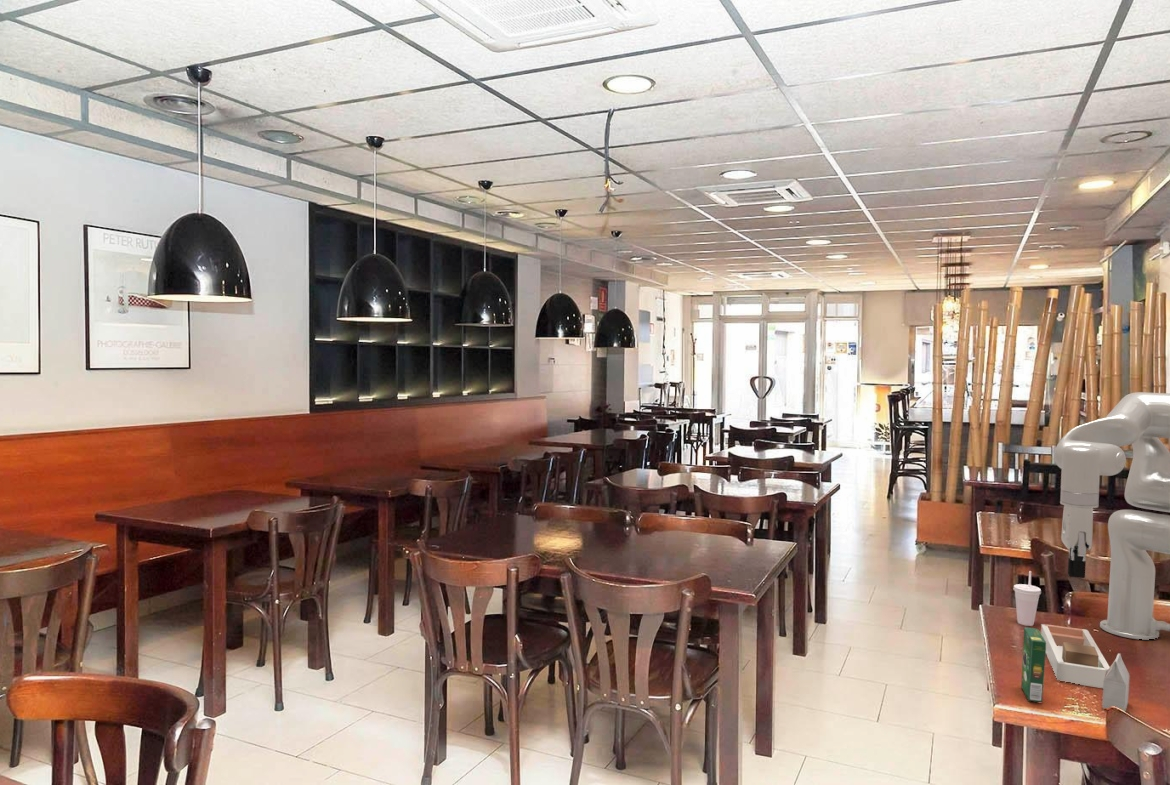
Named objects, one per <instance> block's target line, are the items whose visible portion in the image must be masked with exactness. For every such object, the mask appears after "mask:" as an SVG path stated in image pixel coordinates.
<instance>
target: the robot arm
mask: <svg viewBox="0 0 1170 785" xmlns="http://www.w3.org/2000/svg"><path fill="white" fill-rule="evenodd" d="M1160 438H1163V439H1170V393H1167V392H1166V393H1165V392H1147V391H1145V392H1144V391H1140V392H1139V391H1138V392H1131V393H1129V394H1126V395H1125V396H1124V397H1122V398H1121V399H1120V400H1119V402H1117V404H1116V405H1115V406H1114V407H1113V408H1112V410H1110V412H1109V413H1108V414H1107V415H1106V416H1105V417H1100V418H1098V419H1095V420H1092V421H1090V422H1087V423H1083V424H1080V425H1077V426H1075V427H1073V428H1072V429H1070V430H1069V431H1068V432H1067V433H1066V434H1064V435H1063V437H1062V438H1061V439H1060V441H1058V443H1057V445H1056V447H1055V449H1054V454H1053V460H1054V462H1055V464H1056V466H1057V467H1058V468H1059V469H1060V470H1061V472H1060V474H1061V476H1060V478H1061V479H1060V499H1059V500H1060V501H1059V503H1060V505H1063V513H1062V522H1061V523H1062V524H1061V536H1060V540H1061V542H1062V543H1063V545H1064V547H1065V548H1066V549H1067V550H1068V560H1067V561H1068V562H1067V563H1068V564H1067V575H1068V576H1069V577H1070V578H1079V579H1084V578H1086V562H1087V561H1086V557H1087V556H1086V555H1087V551H1091V549H1092V546H1093V534H1094V533H1093V530H1094V528H1093V527H1094V526H1093V525H1094V524H1093V523H1094V520H1093V519H1094V509H1097V508H1099V504H1100V503H1099V502H1100V501H1099V498H1100V476H1105V477H1106V476H1108V477H1111V476H1115V475H1118V474H1120V473H1121V472H1122V471H1123V469H1124V468H1125V466H1126V463H1127V462H1126V461H1127V458H1126V454H1125V452H1124V450H1123V449H1122V448H1121V447H1126V446H1129V445H1131V447H1132V450H1133V452H1132V454H1133V455H1132V461H1131V464H1130V468H1129V473H1128V477H1127V480H1126V483H1125V489H1124V499H1125V501H1126V503H1127V504H1129V505H1130V506H1133V507H1136V508H1139V509H1140V508H1141V509H1145V510H1153V511H1158V512H1162V513H1163V512H1164V513H1170V450H1169V449H1168V448H1167V446H1166V445H1165V444H1164V443H1163V442H1162V441H1161V440H1160ZM1107 530H1108V537H1109V543H1110V565H1109V567H1110V568H1109V587H1108V601H1107V603H1108V604H1107V619H1103V620H1101V621H1100V622H1099V627H1100V629H1102V630H1103V631H1105V632H1107V633H1109V634H1112V635H1114V636H1118V637H1123V638H1128V639H1133V640H1139V639H1142V640H1141V641H1150V640H1149V639H1154V640H1156V639H1155V638H1157V639H1158V637H1160V631H1166V632H1170V623H1168V622H1167V621H1163V620H1156V619H1155V617H1154V600H1155V586H1156V585H1155V584H1156V583H1155V582H1156V581H1155V580H1156V566H1155V562H1154V561H1153V559H1152V557H1151V556H1150V555H1149V553H1148V552H1147V551H1149V552H1155V553H1162V554H1166V555H1170V515H1168V514H1161V513H1155V512H1150V511H1143V510H1142V511H1141V510H1136V509H1120V510H1116V511H1114V512H1113V513H1112V514H1110V516H1109V518H1108V522H1107Z"/></svg>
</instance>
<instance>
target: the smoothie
mask: <svg viewBox="0 0 1170 785" xmlns="http://www.w3.org/2000/svg"><path fill="white" fill-rule="evenodd" d="M1013 591H1014V598H1015V607H1016V608H1015V609H1016V620H1017V624H1019V625H1021V626H1025V627H1028V626H1029V627H1033V626H1034V623H1035V619H1036V614H1037V609H1038V604H1039V598H1040V595H1041V594H1042V590H1041V588H1040V587H1038V586H1036V585H1032V571H1031V570H1029V571H1028V584H1025V583H1024V584H1022V583H1019V584H1014V585H1013Z"/></svg>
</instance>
